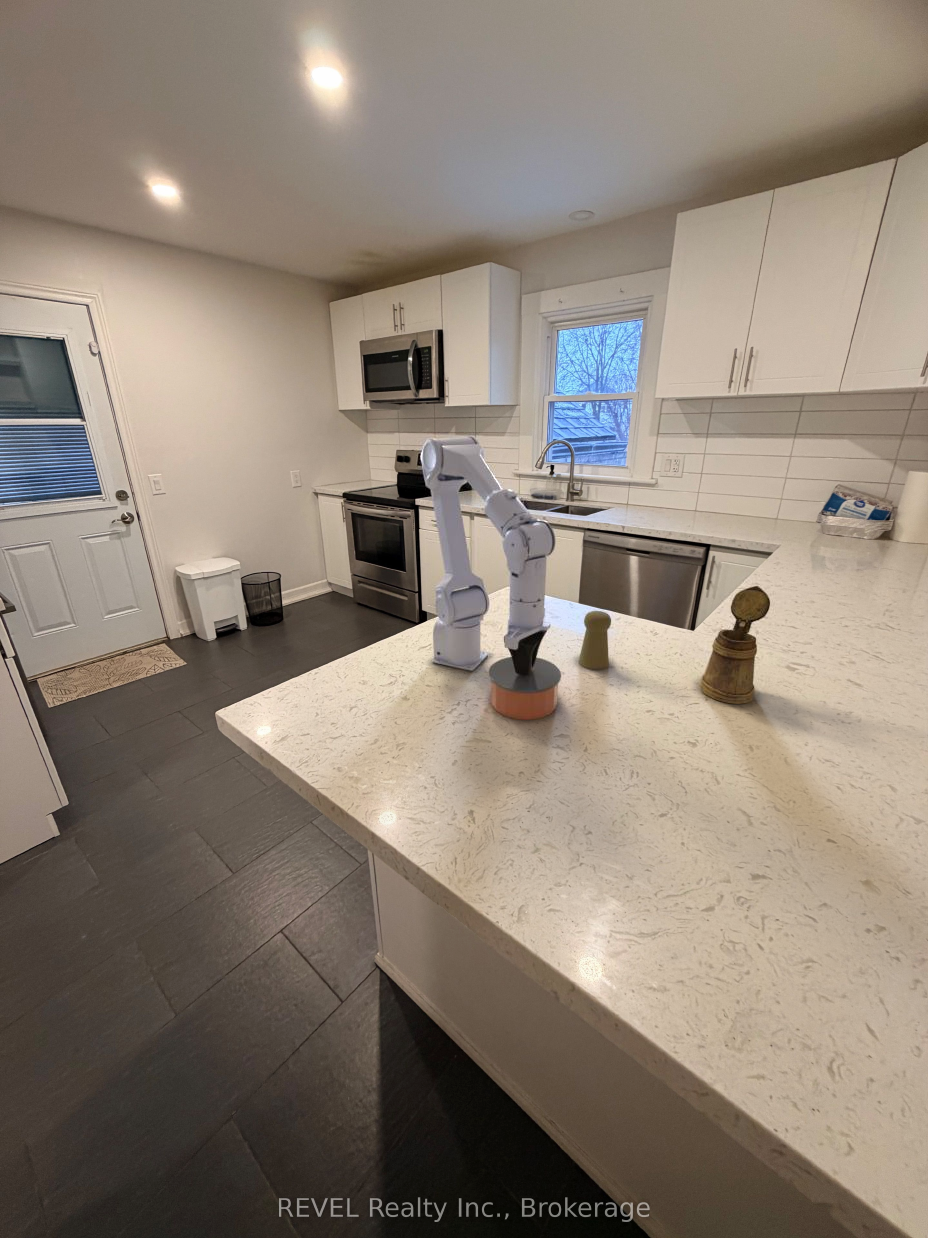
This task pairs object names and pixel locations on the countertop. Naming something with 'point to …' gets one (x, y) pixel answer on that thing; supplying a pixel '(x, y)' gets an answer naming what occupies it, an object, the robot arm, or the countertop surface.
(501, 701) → the terracotta bowl
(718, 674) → the wooden mug
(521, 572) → the robot arm
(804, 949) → the countertop surface
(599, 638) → the olive green pepper mill
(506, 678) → the lid
